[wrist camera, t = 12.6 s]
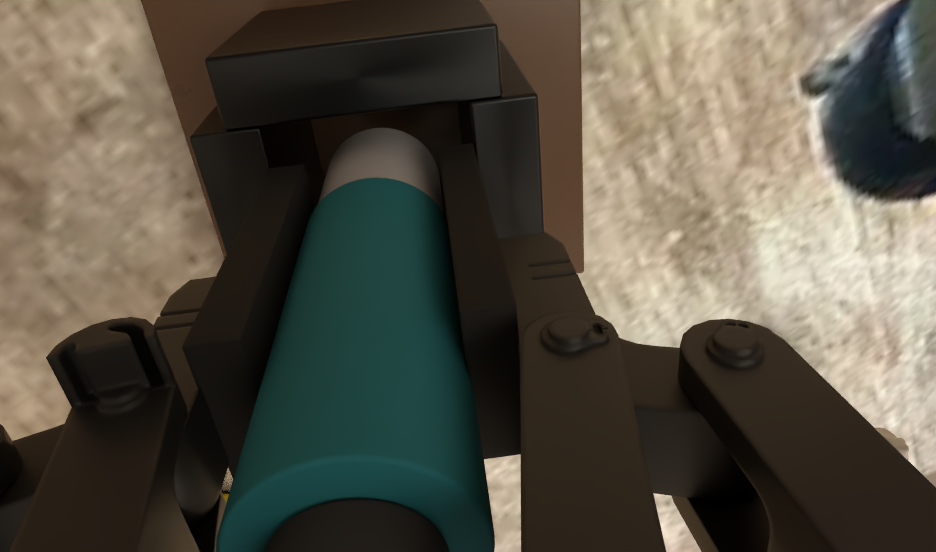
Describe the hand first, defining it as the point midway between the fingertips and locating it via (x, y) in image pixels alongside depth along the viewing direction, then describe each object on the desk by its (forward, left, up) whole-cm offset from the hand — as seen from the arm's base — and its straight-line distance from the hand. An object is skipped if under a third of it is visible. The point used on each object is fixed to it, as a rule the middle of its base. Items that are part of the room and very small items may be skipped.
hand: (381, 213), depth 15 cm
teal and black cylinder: (0, 0, -2) cm, 2 cm away
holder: (0, 0, -7) cm, 7 cm away
